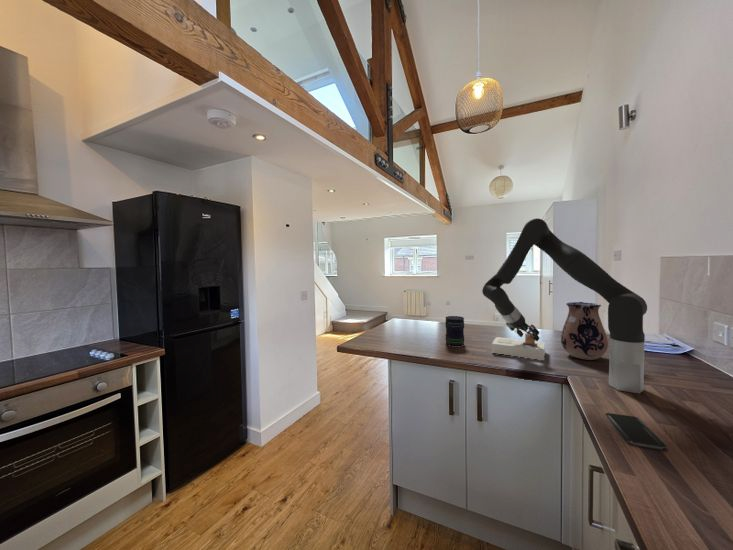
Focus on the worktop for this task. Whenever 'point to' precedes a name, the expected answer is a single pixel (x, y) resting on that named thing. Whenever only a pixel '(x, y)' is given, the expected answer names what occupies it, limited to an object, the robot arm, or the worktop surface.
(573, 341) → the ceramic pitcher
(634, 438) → the phone
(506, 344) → the socket block
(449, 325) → the storage jar
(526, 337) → the peg
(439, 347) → the worktop surface
